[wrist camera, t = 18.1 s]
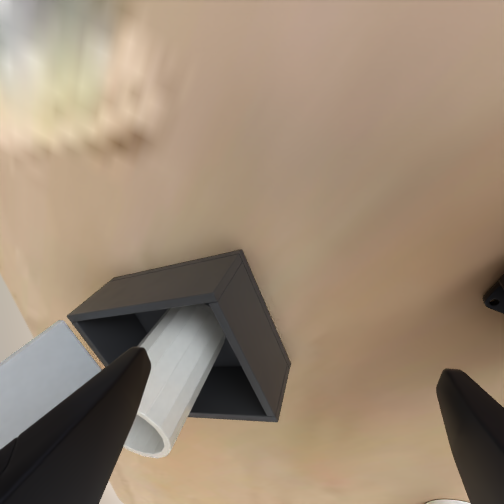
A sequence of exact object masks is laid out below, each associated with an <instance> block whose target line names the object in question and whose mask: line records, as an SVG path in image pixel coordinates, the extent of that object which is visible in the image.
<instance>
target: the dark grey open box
mask: <svg viewBox="0 0 504 504" xmlns="http://www.w3.org/2000/svg"><path fill="white" fill-rule="evenodd" d="M203 303H204V304H206V305H207V306H209V307H211V309H212V311H213V312H214V314H215V316H216V318H217V320H218V322H219V324H220V326H221V328H222V330H223V332H224V334H225V336H226V339H225V342H224V344H223V346H222V348H221V350H220V352H219V354H218V356H217V358H216V360H215V362H214V364H213V367H212V369H211V371H210V373H209V375H208V377H207V379H206V381H205V383H204V385H203V387H202V389H201V391H200V393H199V395H198V397H197V399H196V401H195V403H194V405H193V407H192V409H191V411H190V413H189V415H188V417H196V418H213V419H230V420H247V421H265V422H278V420H279V415H280V411H281V406H282V402H283V397H284V392H285V388H286V383H287V379H288V374H289V369H290V365H291V363H290V361H289V358H288V356H287V354H286V351H285V349H284V347H283V344H282V342H281V340H280V337H279V335H278V333H277V330H276V328H275V326H274V323H273V321H272V318H271V316H270V314H269V311H268V309H267V307H266V304H265V302H264V300H263V297H262V295H261V293H260V290H259V288H258V286H257V283H256V281H255V279H254V276H253V274H252V272H251V269H250V267H249V265H248V262H247V260H246V258H245V255H244V253H243V251H242V250H238V251H233V252H228V253H224V254H219V255H215V256H210V257H206V258H201V259H197V260H192V261H188V262H183V263H179V264H174V265H170V266H165V267H161V268H156V269H151V270H147V271H142V272H138V273H133V274H129V275H124V276H120V277H115V278H113V279H112V280H110V281H109V282H108V283H107V284H105V285H104V286H103V287H102V288H101V289H99V290H98V291H97V292H96V293H94V294H93V295H92V296H91V297H89V298H88V299H87V300H86V301H84V302H83V303H82V304H81V305H80V306H78V307H77V308H76V309H75V310H73V311H72V312H71V313H70V314H68V315H67V317H68V319H69V320H70V321H71V322H72V324H73V325H74V327H75V328H76V329H77V331H78V332H79V333H80V335H81V336H82V337H83V338H84V340H85V341H86V342H87V344H88V345H89V346H90V348H91V349H92V350H93V352H94V353H95V354H96V355H97V357H98V358H99V359H100V361H101V362H102V363H103V365H104V366H105V367H107V366H108V365H109V364H110V363H112V362H113V361H114V360H116V359H117V358H118V357H119V356H121V355H122V354H123V353H124V352H126V351H127V350H128V349H130V348H131V347H137V346H138V345H139V343H140V342H141V341H142V340H143V338H144V337H145V336H146V335H147V334H148V332H149V331H150V330H151V329H152V328H153V326H154V325H155V324H156V323H157V321H158V320H159V319H160V318H161V317H162V315H163V314H164V313H165V312H166V311H167V309H169V308H175V307H182V306H189V305H196V304H203Z"/></svg>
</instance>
